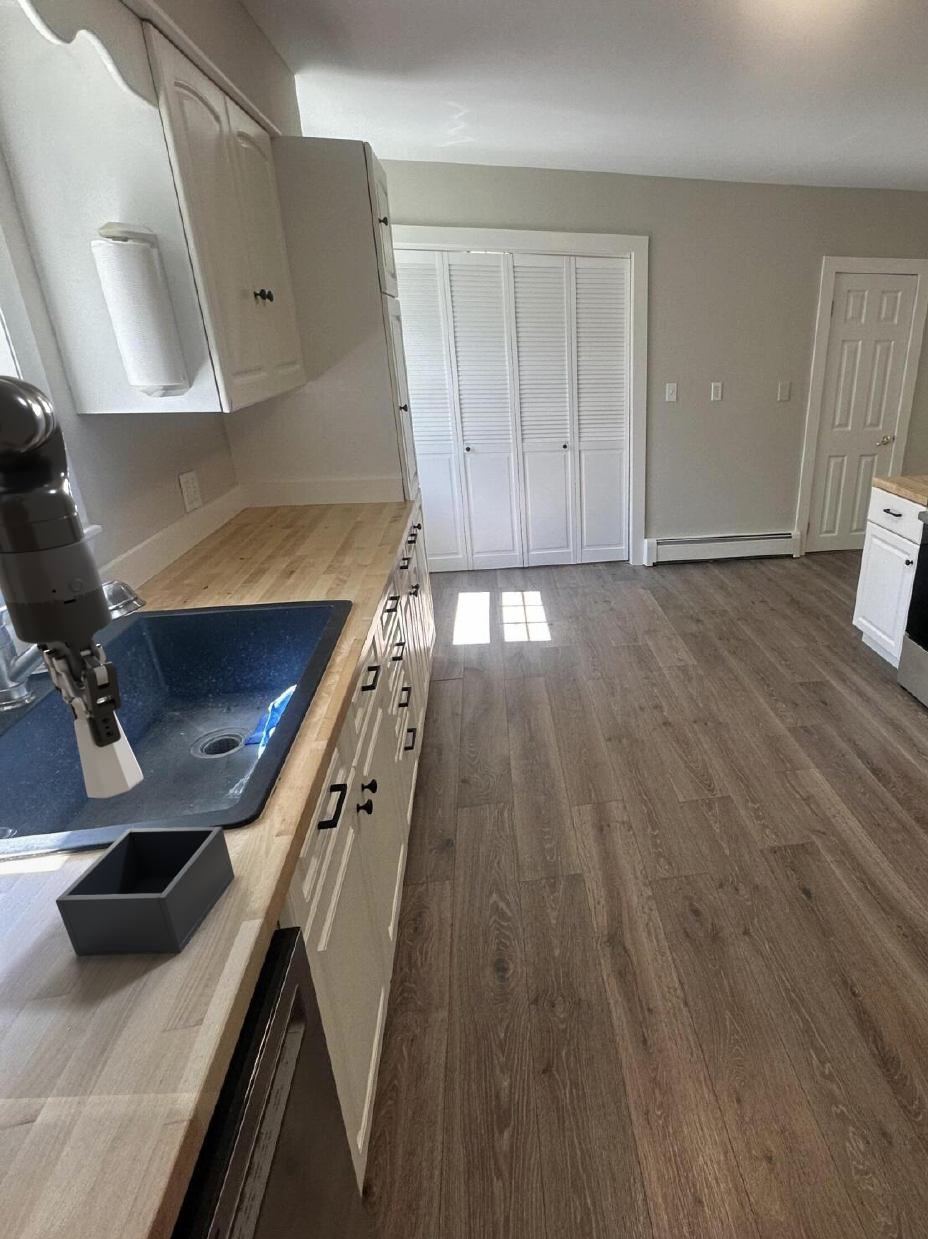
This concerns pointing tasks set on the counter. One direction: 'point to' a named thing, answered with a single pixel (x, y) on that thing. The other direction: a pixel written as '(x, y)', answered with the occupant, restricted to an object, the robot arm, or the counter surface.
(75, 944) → the bin
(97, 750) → the pepper shaker
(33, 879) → the counter surface
